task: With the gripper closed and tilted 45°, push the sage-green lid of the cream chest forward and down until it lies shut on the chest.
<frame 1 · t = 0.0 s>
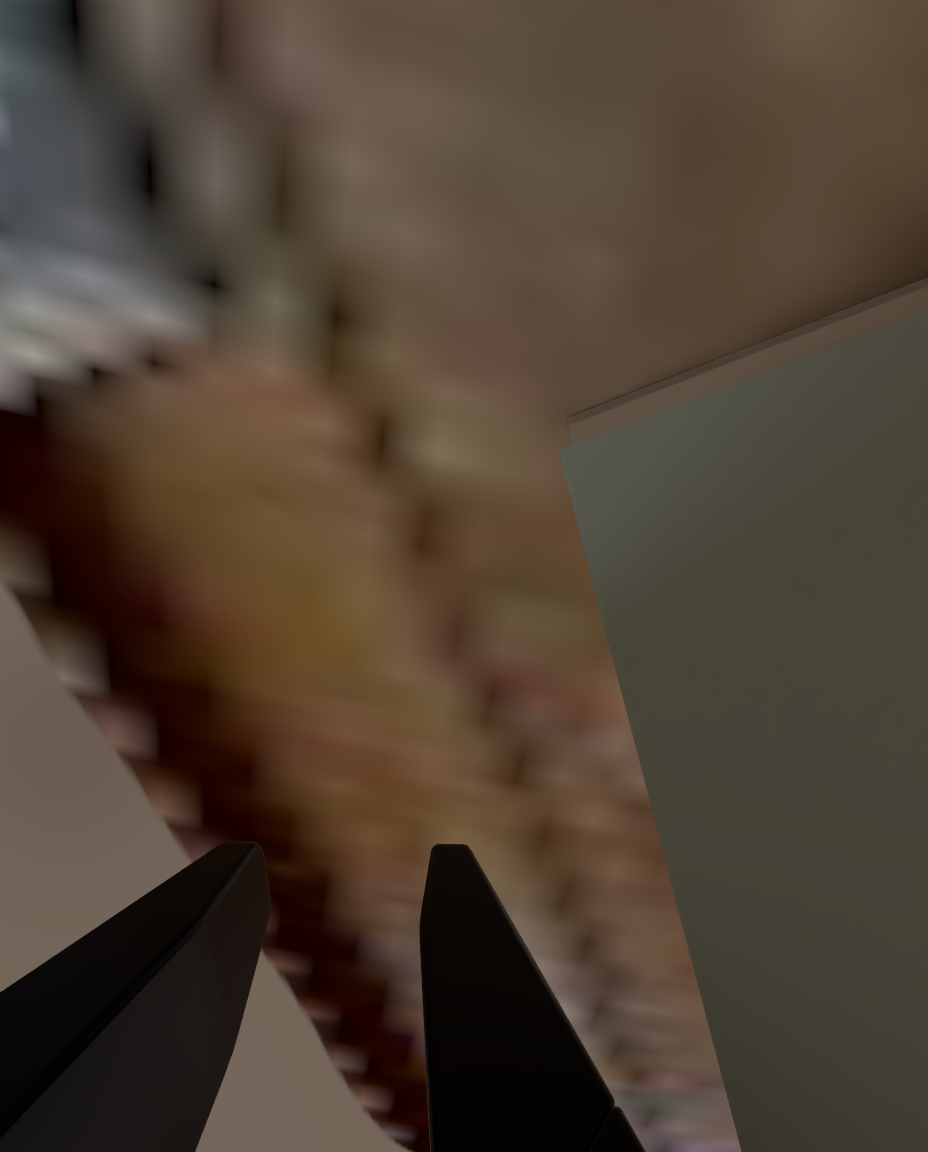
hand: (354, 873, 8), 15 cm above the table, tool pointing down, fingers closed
chest: (884, 504, 21), on the table
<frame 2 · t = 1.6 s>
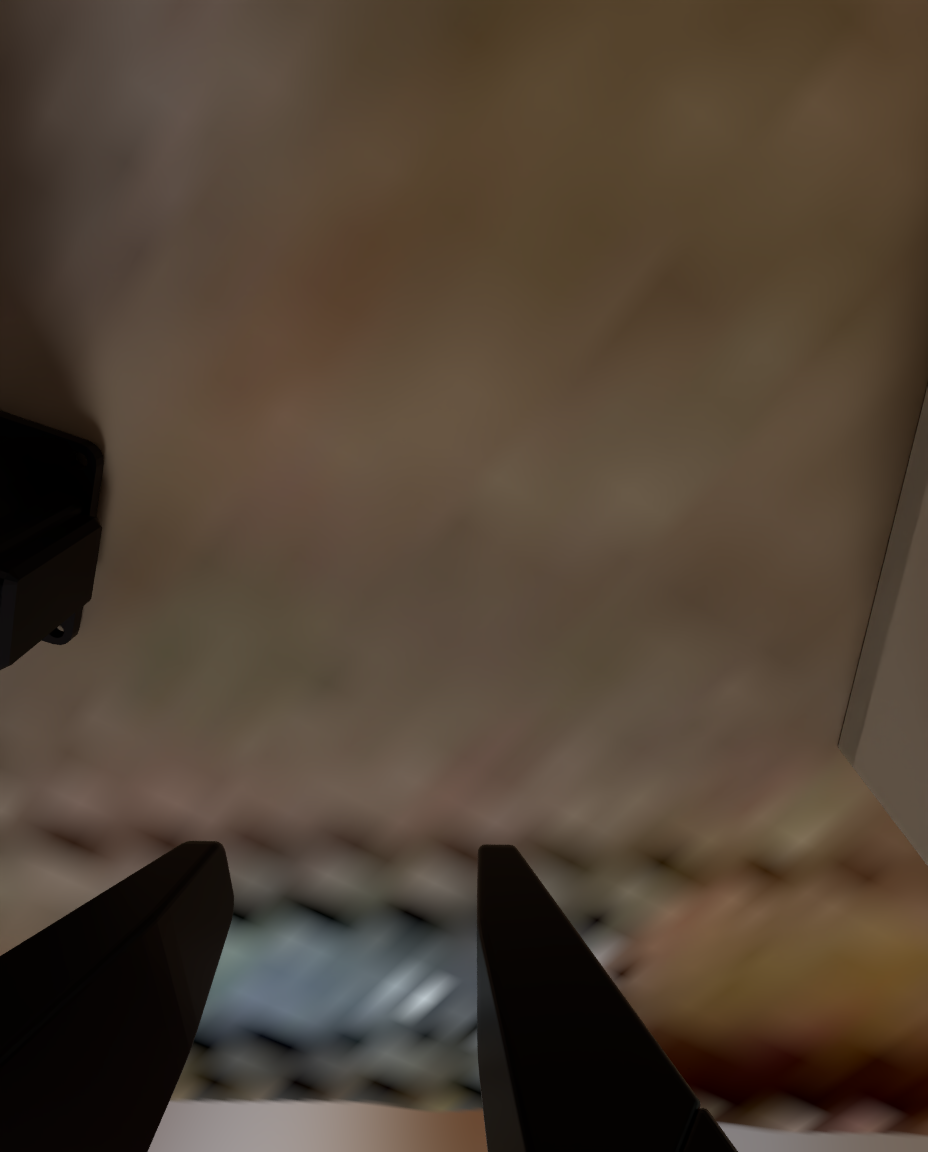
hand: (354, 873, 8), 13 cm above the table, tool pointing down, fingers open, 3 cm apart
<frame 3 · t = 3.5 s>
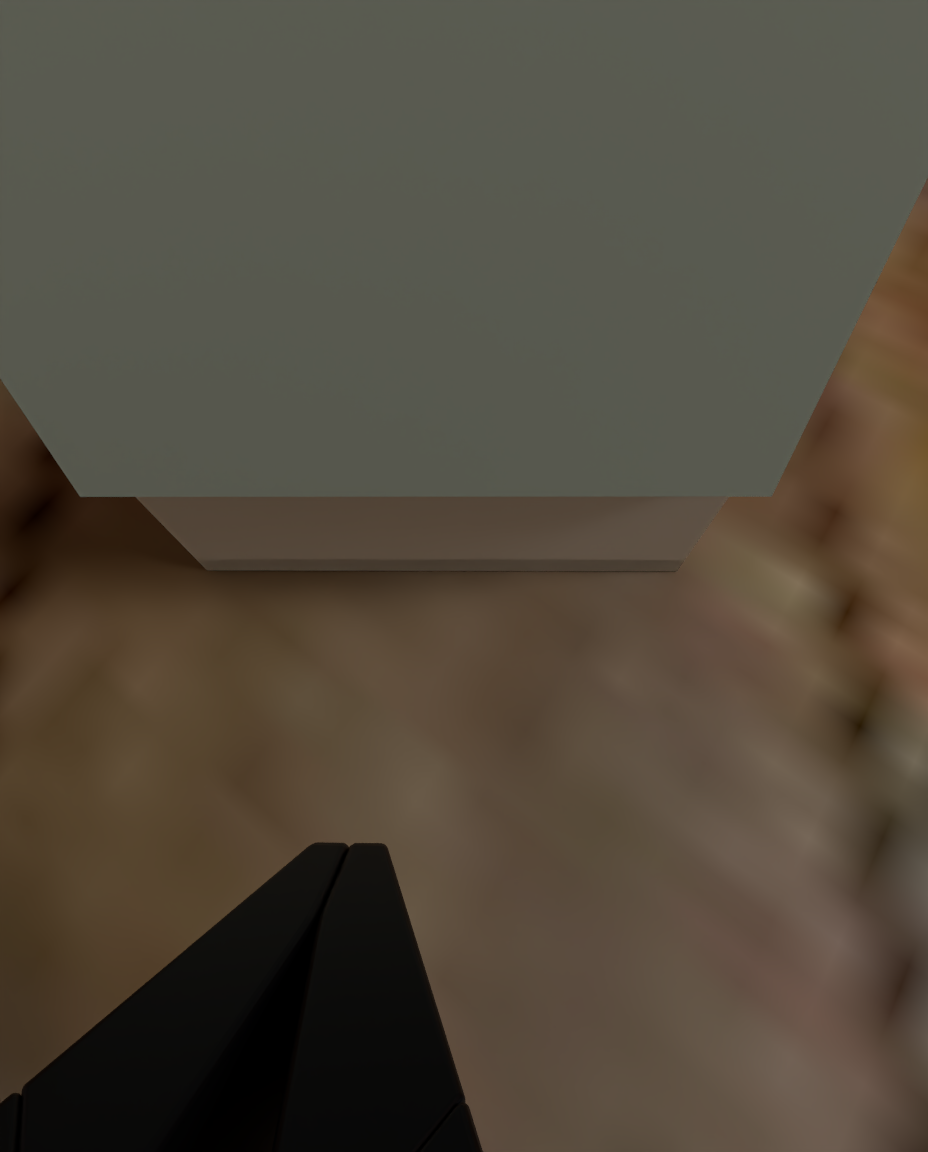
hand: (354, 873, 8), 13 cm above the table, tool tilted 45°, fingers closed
chest: (443, 421, 26), on the table
chest lid: (397, 222, 12), point 13 cm above the table, hinge at 75.1°
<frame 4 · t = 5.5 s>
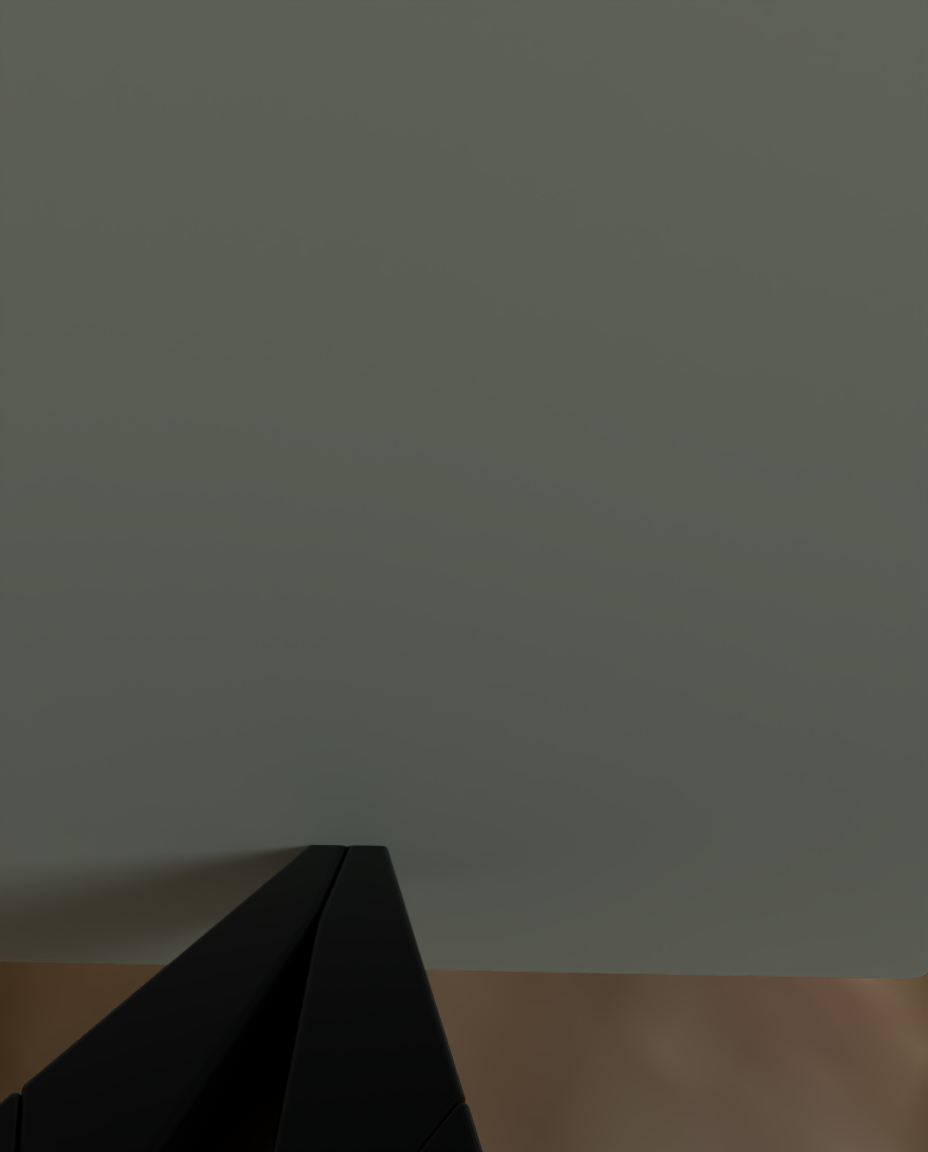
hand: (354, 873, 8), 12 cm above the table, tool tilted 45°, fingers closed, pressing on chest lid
chest lid: (338, 748, 7), point 13 cm above the table, hinge at 69.0°, touching gripper
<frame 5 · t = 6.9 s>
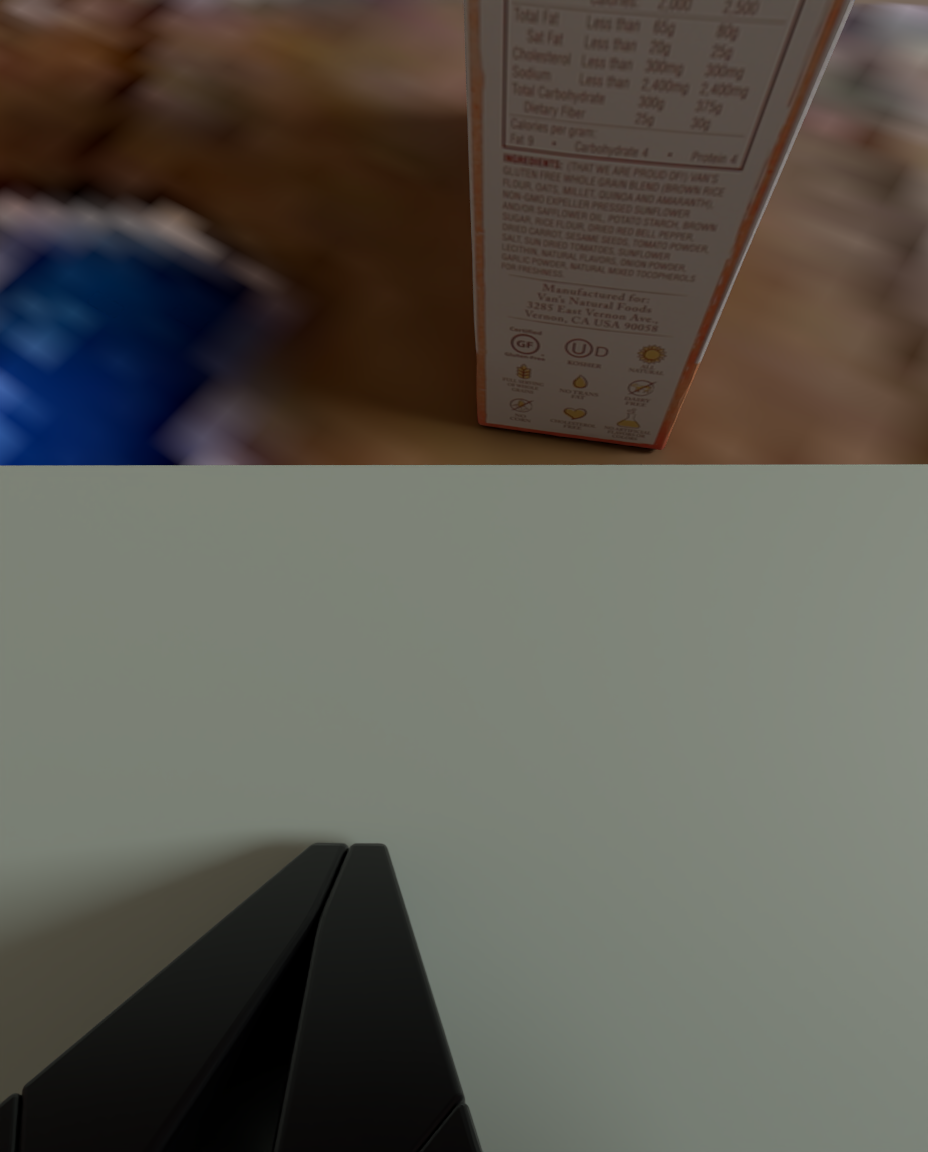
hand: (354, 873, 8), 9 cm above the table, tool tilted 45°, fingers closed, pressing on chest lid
cracker box: (587, 273, 23), on the table
chest lid: (360, 968, 8), point 8 cm above the table, hinge at 5.8°, touching gripper
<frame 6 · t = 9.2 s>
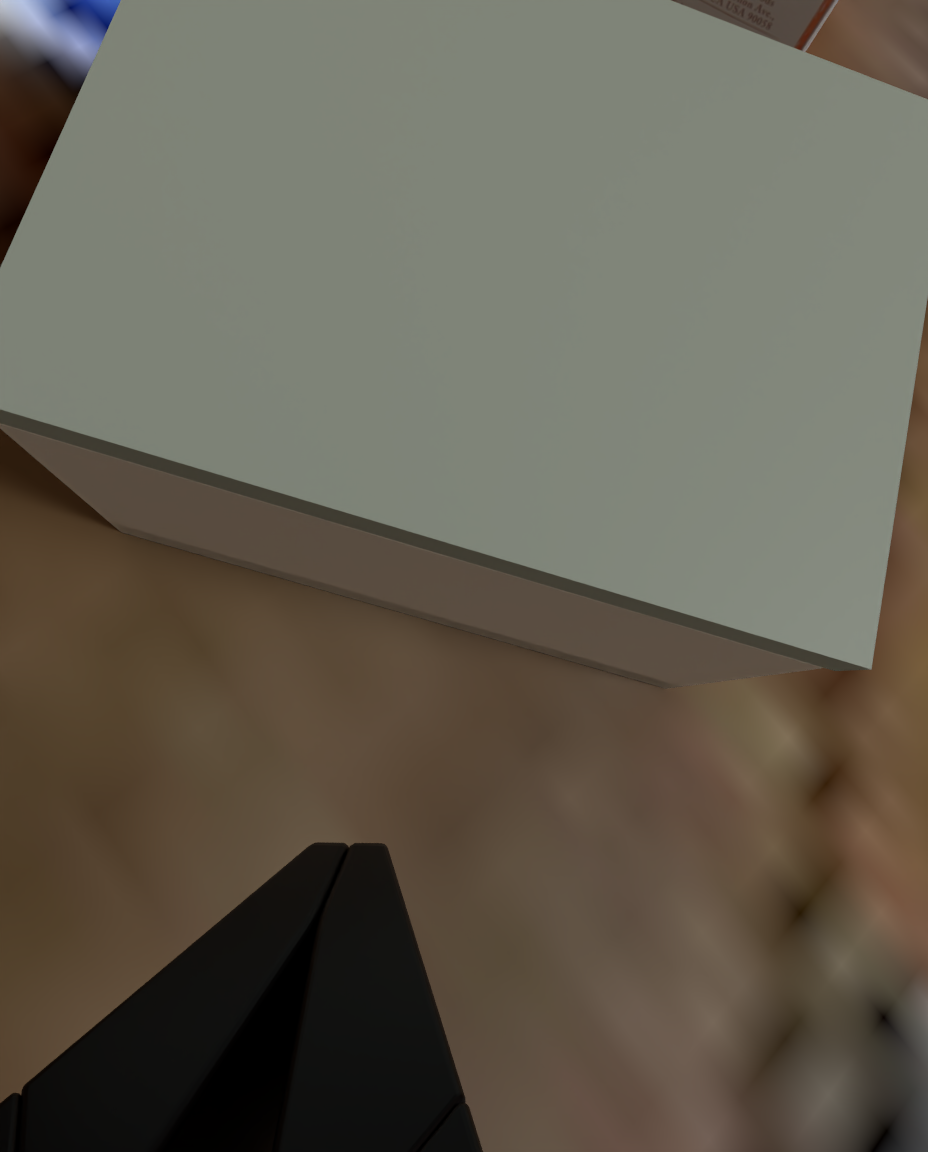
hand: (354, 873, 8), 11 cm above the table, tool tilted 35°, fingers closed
cracker box: (706, 21, 27), on the table
chest: (457, 426, 21), on the table
chest lid: (520, 246, 13), point 8 cm above the table, hinge at 3.3°
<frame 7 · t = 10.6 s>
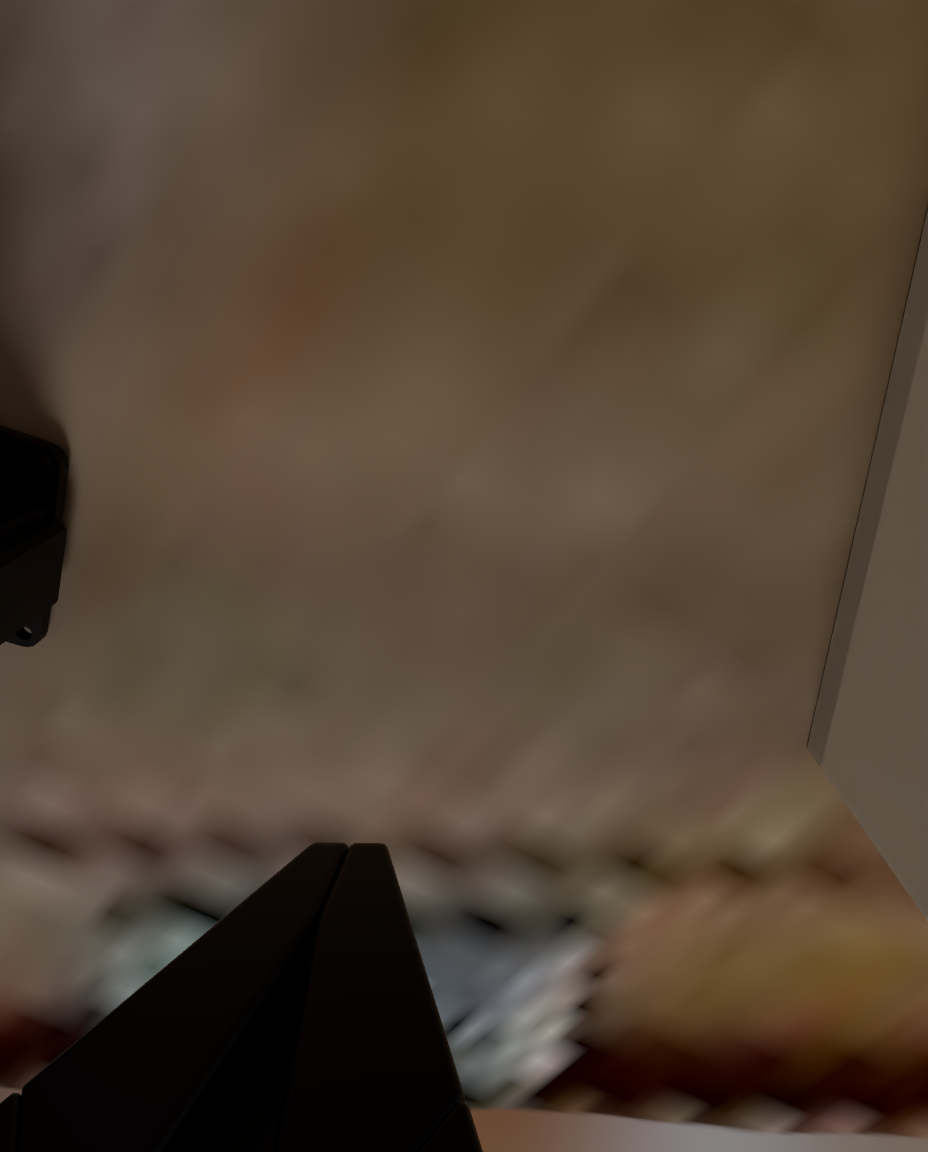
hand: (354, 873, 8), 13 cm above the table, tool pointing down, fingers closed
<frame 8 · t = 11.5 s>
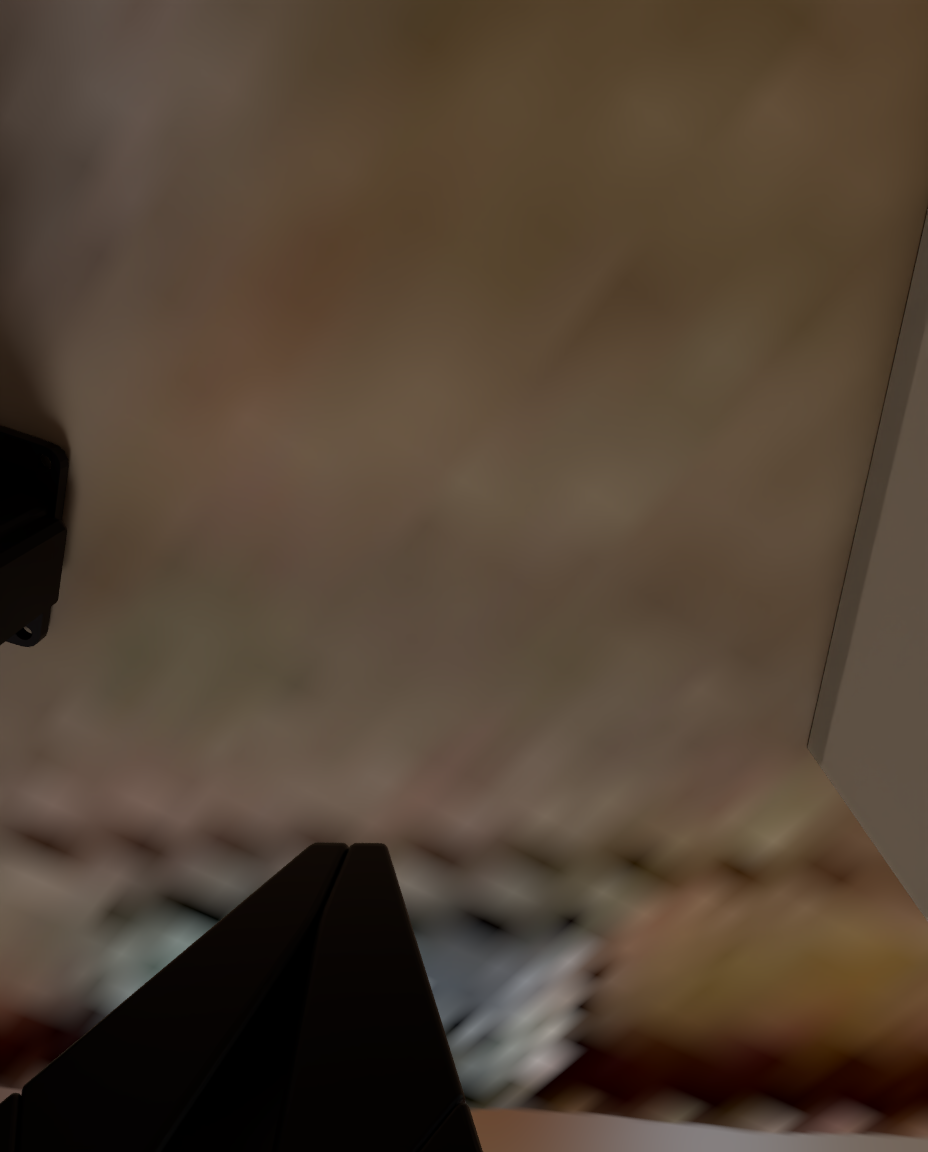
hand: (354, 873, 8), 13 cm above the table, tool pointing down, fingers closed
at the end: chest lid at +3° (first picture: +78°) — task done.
